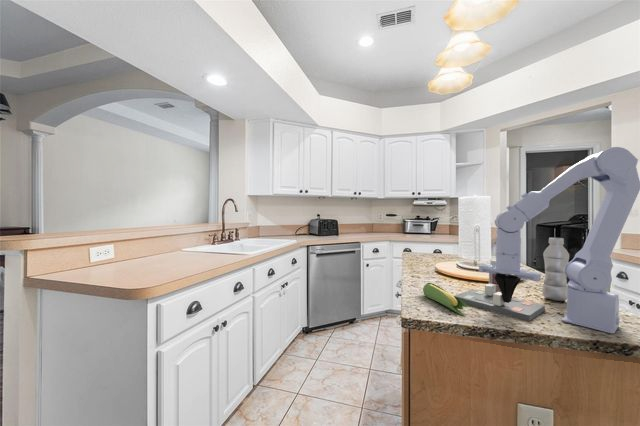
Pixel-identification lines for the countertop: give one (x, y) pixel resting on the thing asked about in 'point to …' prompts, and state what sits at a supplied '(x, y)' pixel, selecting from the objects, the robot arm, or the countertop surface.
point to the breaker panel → (512, 308)
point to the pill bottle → (493, 276)
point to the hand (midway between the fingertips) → (507, 301)
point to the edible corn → (443, 297)
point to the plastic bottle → (555, 270)
